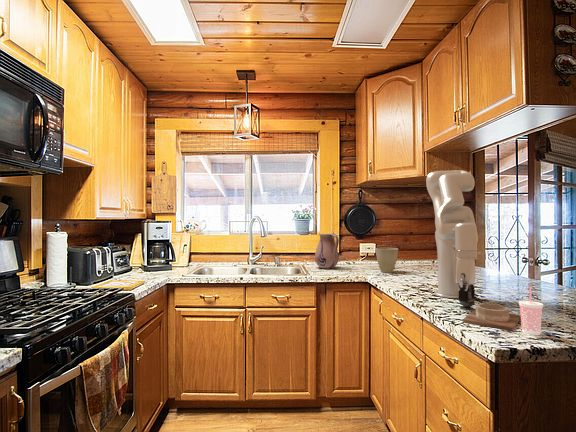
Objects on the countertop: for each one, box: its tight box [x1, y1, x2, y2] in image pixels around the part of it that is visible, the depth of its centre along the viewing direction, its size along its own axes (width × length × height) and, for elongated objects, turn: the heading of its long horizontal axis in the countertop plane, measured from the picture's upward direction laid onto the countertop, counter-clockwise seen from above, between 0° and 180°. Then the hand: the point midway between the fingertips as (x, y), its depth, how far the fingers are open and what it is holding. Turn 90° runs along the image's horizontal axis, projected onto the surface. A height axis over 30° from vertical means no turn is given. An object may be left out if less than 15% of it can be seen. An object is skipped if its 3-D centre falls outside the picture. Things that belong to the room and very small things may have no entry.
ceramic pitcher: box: [314, 233, 340, 270], centre depth 246 cm, size 18×21×25 cm
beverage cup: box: [518, 285, 544, 336], centre depth 102 cm, size 6×6×14 cm
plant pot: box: [374, 247, 399, 274], centre depth 225 cm, size 15×15×16 cm
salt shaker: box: [458, 284, 476, 311], centre depth 130 cm, size 6×6×12 cm
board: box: [462, 303, 521, 332], centre depth 115 cm, size 18×14×4 cm
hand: (466, 298), depth 130 cm, fingers open, 9 cm apart
